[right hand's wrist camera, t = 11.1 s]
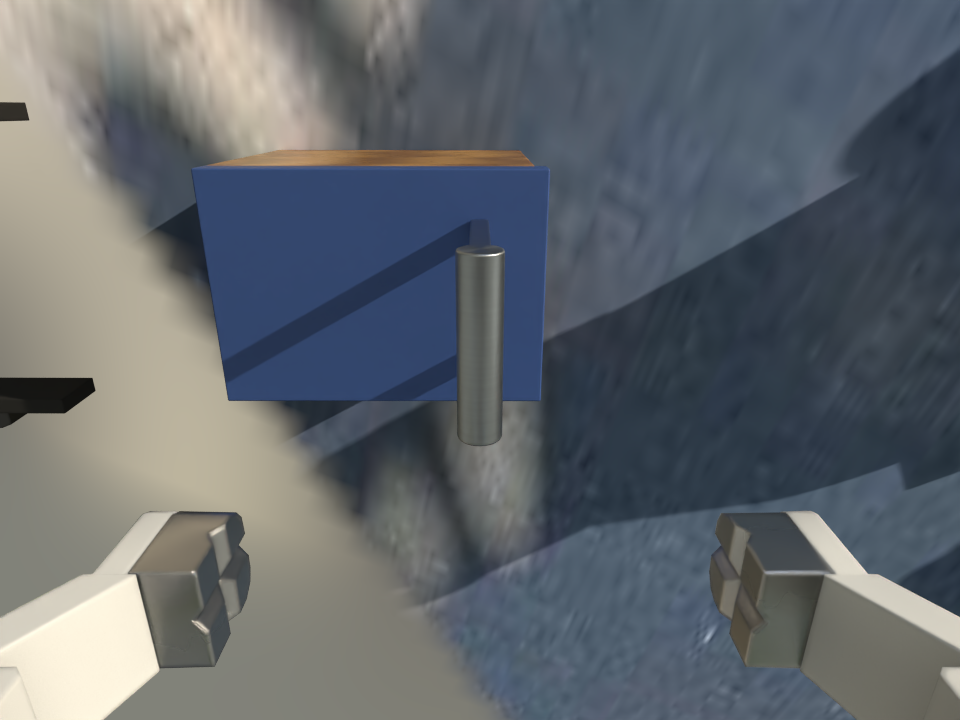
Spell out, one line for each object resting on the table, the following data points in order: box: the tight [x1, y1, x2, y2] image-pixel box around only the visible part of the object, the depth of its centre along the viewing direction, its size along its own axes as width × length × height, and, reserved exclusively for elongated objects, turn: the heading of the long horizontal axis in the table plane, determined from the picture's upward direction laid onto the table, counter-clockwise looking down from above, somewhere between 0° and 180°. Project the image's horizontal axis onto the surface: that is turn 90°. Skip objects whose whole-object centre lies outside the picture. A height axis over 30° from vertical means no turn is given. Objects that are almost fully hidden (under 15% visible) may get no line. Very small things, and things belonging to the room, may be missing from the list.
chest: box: [207, 150, 534, 166], centre depth 31 cm, size 13×10×10 cm
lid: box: [191, 166, 550, 446], centre depth 23 cm, size 14×10×8 cm
